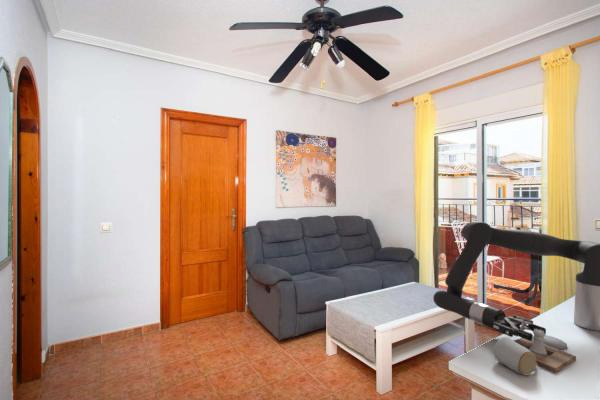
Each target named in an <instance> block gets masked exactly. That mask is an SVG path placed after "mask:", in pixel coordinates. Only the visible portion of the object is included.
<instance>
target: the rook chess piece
mask: <svg viewBox="0 0 600 400" xmlns="http://www.w3.org/2000/svg"><path fill="white" fill-rule="evenodd" d="M532 334H533V337H534V342H533V345H532V346H531V347H530V349H529V350H530V351H531V352H533V353H535V354H537V355H540V356H542V357H545V358H546V357H548V355H547V352H546V350H545V348H544V336H545V335H546V334H545V333H544V331H543V330H542V331H541V329H539V330H538V329H534V331H532Z"/></svg>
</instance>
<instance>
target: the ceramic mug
mask: <svg viewBox="0 0 600 400" xmlns="http://www.w3.org/2000/svg"><path fill="white" fill-rule="evenodd" d="M514 341H515V340H512V338H510V337H507V336H503V337H501V338H499V339H498V340H497V341H496V342H495V345H494V348H493V355H494V358H495V360H496V361H498V362H499V363H501V364H503V365H505V366H506V367H508V368H510V369H511V370H513V372H516V373H518V374H520V375H523V376H528V375H530V374H531V373H533V372H534V370H536V369H537V367H538V365H537V364H536V357H535V355H534V354H533V353H532V352H531V351H530V349H529V350H528V349H527V348H525V347H523V346H521V345H520V344H518V343H516V342H514Z"/></svg>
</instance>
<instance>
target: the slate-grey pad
mask: <svg viewBox="0 0 600 400" xmlns="http://www.w3.org/2000/svg"><path fill="white" fill-rule="evenodd" d="M533 340H534V337H533ZM544 344H546V345H548V346H551V347H554V348H556V349H559V350H561V351H564V350H567V349H568V344H567V342H565V341H563V340H562V339H560V338H558V337H555V336H551V335H548V334H545V336H544Z"/></svg>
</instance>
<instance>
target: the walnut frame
mask: <svg viewBox="0 0 600 400" xmlns="http://www.w3.org/2000/svg"><path fill="white" fill-rule="evenodd" d="M513 341H514V342H516V343H518V344H520V345H521V346H523V347H525V348H527V349H528V350H530V347H531V346H532V345H533V342H534V340H531V341H529V340H527V339H524V338H522V337H519V338H517V339H514V340H513ZM544 348H545V350H546V352H547V354H546V355H547V357H546V358H545V357H542V356H540V355H537V354H535V353H533V352H532V353H533V354H534V355H535V357H536V364H537V367H541V368H542V369H545V370H547V371H550V372H552V373H554V374H556V373H558V372H559V371H561V370H563V369H564V368H566V367H568V366H569V365H571V364H572V363H574V362H576V361H577V356H576V355H574V354H571V353H569V352H567V351H564V350H559V349H556V348H554V347H551V346H548V345H546V344H544Z"/></svg>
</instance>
